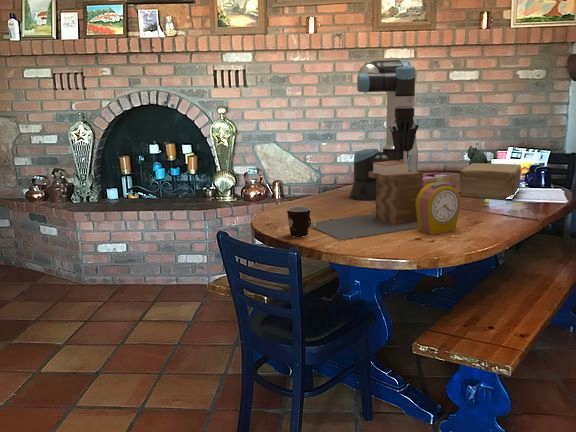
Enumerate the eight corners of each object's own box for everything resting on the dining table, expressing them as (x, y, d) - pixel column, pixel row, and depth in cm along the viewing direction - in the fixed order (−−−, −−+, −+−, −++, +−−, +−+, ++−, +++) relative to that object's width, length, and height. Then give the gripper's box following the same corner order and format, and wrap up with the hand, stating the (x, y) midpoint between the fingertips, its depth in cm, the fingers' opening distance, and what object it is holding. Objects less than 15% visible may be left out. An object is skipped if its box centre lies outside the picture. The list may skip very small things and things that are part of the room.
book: (373, 172, 225) (373, 162, 224) (395, 170, 230) (395, 160, 229) (385, 175, 218) (385, 164, 217) (408, 172, 223) (408, 162, 222)
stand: (367, 220, 232) (368, 171, 228) (399, 215, 240) (400, 168, 235) (388, 227, 220) (389, 176, 216) (420, 222, 227) (422, 172, 223)
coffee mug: (286, 232, 215) (286, 207, 213) (309, 232, 216) (308, 206, 213) (289, 241, 204) (288, 214, 201) (313, 240, 204) (312, 213, 202)
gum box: (439, 201, 267) (440, 172, 263) (452, 203, 260) (454, 174, 257) (403, 208, 253) (404, 178, 250) (416, 211, 247) (417, 180, 244)
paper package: (469, 187, 298) (470, 161, 295) (521, 191, 286) (523, 164, 283) (457, 197, 275) (458, 168, 272) (513, 201, 263) (515, 171, 260)
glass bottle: (398, 179, 327) (399, 130, 320) (416, 179, 325) (418, 130, 319) (399, 182, 317) (400, 131, 311) (417, 182, 316) (419, 131, 309)
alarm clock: (427, 235, 208) (429, 185, 204) (414, 230, 216) (416, 182, 211) (460, 230, 214) (462, 182, 210) (446, 225, 221) (448, 179, 217)
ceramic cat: (465, 176, 334) (466, 141, 330) (475, 175, 335) (477, 141, 330) (479, 181, 315) (481, 145, 310) (490, 181, 316) (493, 145, 311)
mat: (303, 224, 227) (303, 223, 227) (392, 211, 246) (392, 210, 246) (341, 240, 203) (341, 239, 203) (436, 225, 222) (436, 224, 222)
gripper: (397, 108, 215) (396, 170, 220) (424, 107, 221) (422, 167, 226) (385, 107, 222) (384, 167, 227) (411, 106, 227) (409, 165, 233)
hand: (403, 167), depth 227 cm, fingers closed
